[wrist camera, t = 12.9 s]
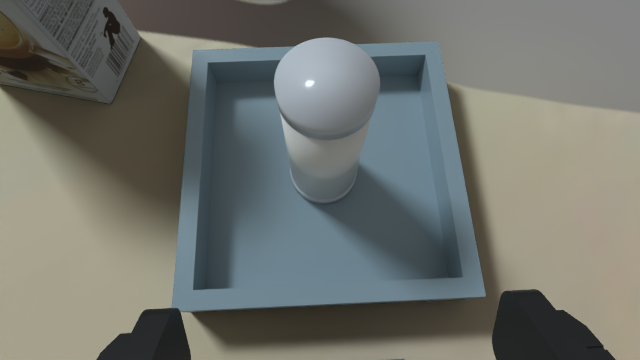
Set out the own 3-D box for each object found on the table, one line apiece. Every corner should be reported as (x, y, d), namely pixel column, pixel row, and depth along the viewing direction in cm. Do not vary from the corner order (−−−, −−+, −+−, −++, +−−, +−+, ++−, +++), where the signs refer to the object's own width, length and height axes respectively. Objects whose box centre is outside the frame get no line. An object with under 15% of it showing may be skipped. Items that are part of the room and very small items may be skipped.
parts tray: (190, 312, 22) (171, 311, 19) (205, 77, 27) (192, 50, 25) (464, 299, 22) (486, 296, 20) (426, 69, 28) (438, 41, 25)
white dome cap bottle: (291, 206, 23) (274, 130, 14) (290, 145, 25) (273, 39, 15) (358, 203, 23) (385, 126, 14) (353, 142, 25) (374, 36, 15)
